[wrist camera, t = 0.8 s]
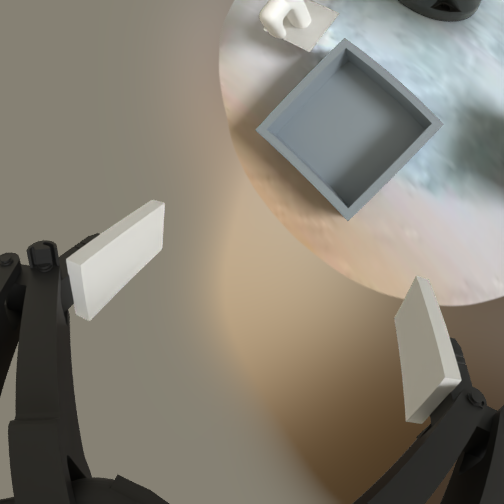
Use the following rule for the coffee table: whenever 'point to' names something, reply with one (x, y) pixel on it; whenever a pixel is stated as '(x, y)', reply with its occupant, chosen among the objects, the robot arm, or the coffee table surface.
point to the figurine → (297, 21)
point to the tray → (349, 127)
